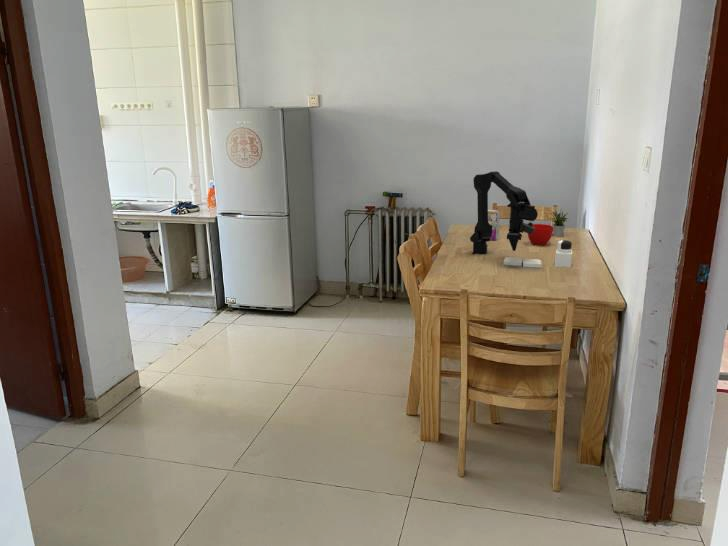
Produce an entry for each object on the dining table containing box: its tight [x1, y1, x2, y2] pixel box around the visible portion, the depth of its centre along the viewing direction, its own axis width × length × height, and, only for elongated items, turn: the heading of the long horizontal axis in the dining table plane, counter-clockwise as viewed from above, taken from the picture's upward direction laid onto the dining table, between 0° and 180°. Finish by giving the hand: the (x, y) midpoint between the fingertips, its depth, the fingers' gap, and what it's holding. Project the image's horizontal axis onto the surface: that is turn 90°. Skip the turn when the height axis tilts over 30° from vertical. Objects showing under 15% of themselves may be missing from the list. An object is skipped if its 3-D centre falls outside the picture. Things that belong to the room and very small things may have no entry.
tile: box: [503, 256, 524, 267], centre depth 267 cm, size 8×2×8 cm
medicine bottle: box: [554, 239, 573, 269], centre depth 263 cm, size 7×7×12 cm
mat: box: [503, 263, 541, 270], centre depth 268 cm, size 16×16×1 cm
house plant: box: [547, 207, 571, 238], centre depth 325 cm, size 14×14×16 cm
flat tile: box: [523, 258, 543, 269], centre depth 263 cm, size 8×8×2 cm
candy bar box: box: [488, 209, 501, 242], centre depth 318 cm, size 11×5×16 cm, turn 58°
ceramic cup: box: [527, 223, 553, 247], centre depth 306 cm, size 13×17×10 cm
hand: (514, 250), depth 267 cm, fingers closed
